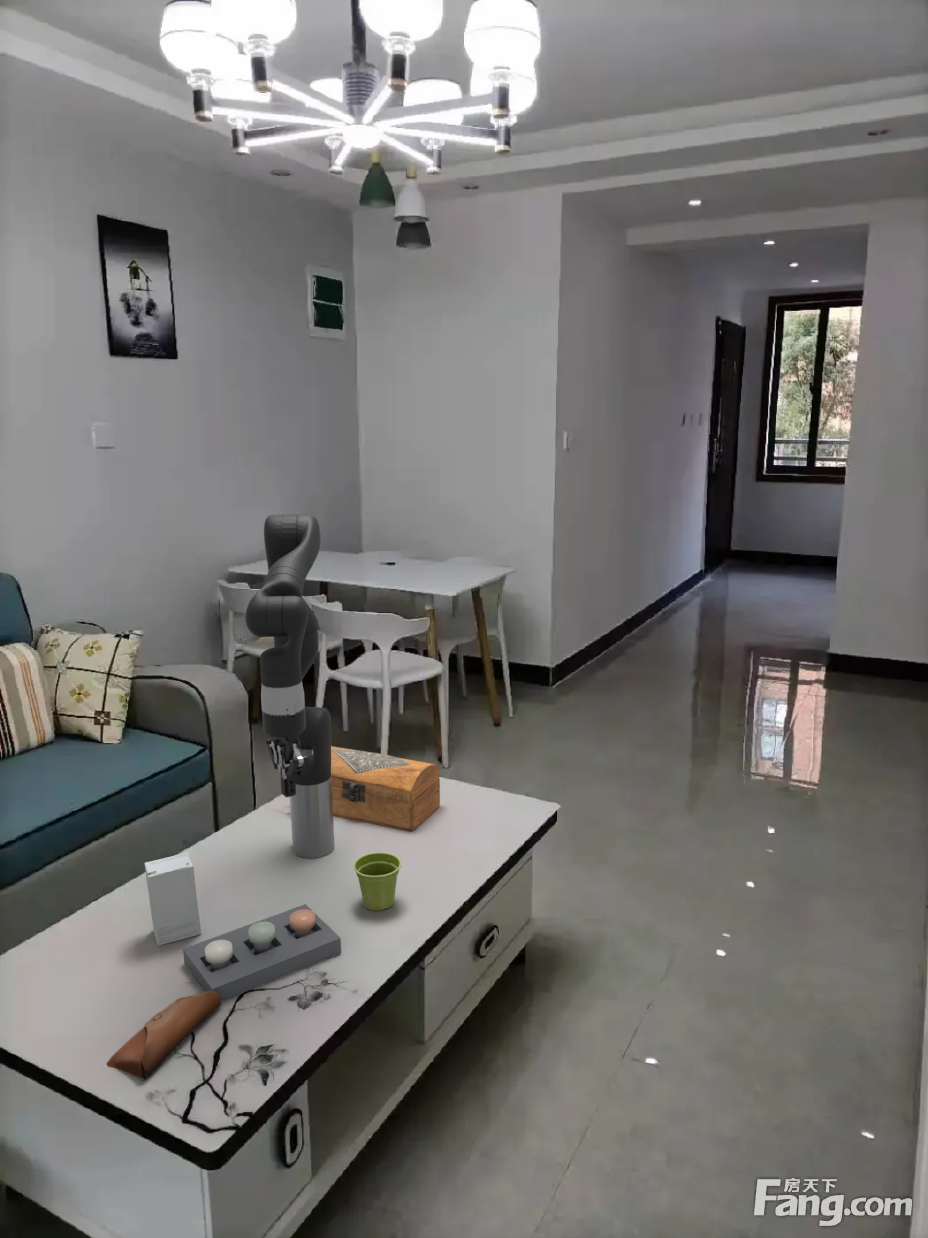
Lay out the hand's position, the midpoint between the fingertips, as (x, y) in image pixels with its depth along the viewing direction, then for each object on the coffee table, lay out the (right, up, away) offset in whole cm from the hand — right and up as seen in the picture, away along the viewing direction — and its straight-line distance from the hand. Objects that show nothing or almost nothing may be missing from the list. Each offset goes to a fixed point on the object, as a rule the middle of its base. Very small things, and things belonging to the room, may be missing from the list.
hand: (289, 795), depth 162 cm
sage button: (-4, -27, -3) cm, 28 cm away
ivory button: (-11, -29, -7) cm, 32 cm away
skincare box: (-22, -27, +5) cm, 36 cm away
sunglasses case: (-15, -34, -22) cm, 43 cm away
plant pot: (+15, -25, +15) cm, 33 cm away
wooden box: (+9, -15, +56) cm, 59 cm away
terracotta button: (+2, -27, +2) cm, 27 cm away
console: (-4, -29, -2) cm, 29 cm away
